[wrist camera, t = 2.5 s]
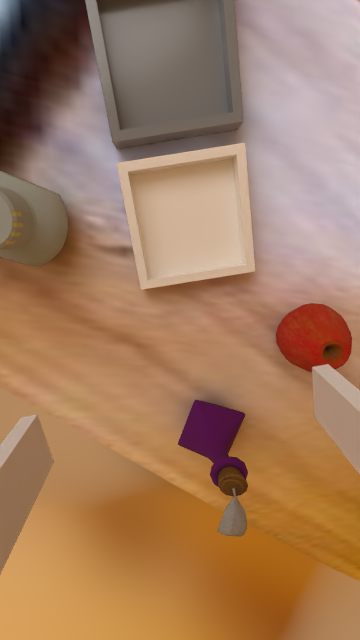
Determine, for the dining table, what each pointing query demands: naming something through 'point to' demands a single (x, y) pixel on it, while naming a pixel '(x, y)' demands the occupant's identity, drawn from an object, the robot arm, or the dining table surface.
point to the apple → (314, 337)
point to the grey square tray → (167, 68)
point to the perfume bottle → (219, 456)
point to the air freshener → (30, 222)
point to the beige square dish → (189, 215)
